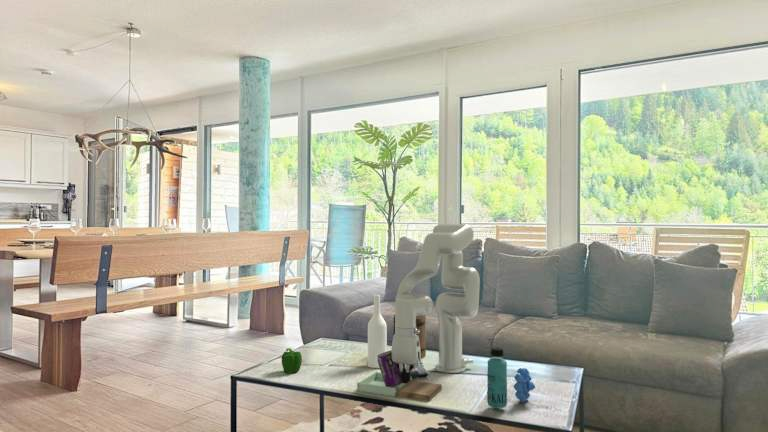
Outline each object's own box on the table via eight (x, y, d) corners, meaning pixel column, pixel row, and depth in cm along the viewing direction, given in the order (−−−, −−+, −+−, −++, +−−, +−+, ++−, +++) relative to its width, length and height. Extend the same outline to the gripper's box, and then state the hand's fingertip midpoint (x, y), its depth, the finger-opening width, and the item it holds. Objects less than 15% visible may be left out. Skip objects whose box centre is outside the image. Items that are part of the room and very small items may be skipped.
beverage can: (403, 384, 186) (392, 352, 188) (384, 390, 187) (374, 358, 189) (405, 379, 193) (395, 348, 195) (387, 385, 194) (377, 354, 196)
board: (441, 389, 189) (441, 384, 189) (429, 401, 178) (429, 395, 178) (411, 385, 195) (411, 380, 195) (397, 396, 183) (397, 390, 183)
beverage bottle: (492, 404, 175) (492, 344, 175) (511, 408, 171) (510, 347, 171) (483, 409, 170) (483, 348, 170) (502, 414, 166) (501, 351, 166)
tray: (411, 384, 196) (411, 376, 196) (395, 397, 182) (395, 388, 182) (375, 379, 202) (375, 371, 202) (357, 391, 189) (357, 382, 189)
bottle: (388, 363, 224) (388, 293, 224) (384, 369, 216) (383, 296, 216) (370, 362, 226) (370, 293, 226) (365, 367, 218) (365, 296, 218)
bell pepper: (296, 367, 219) (296, 343, 219) (304, 372, 212) (304, 348, 212) (277, 371, 214) (277, 346, 214) (285, 376, 207) (285, 351, 207)
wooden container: (431, 354, 239) (431, 306, 239) (415, 361, 227) (415, 311, 227) (403, 349, 247) (403, 303, 247) (386, 356, 235) (386, 308, 235)
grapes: (529, 410, 169) (529, 373, 169) (509, 405, 173) (509, 369, 173) (541, 399, 179) (540, 364, 179) (521, 395, 183) (521, 361, 183)
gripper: (428, 331, 189) (428, 382, 188) (391, 327, 195) (391, 376, 195) (421, 335, 182) (421, 388, 182) (382, 331, 188) (382, 382, 188)
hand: (405, 382), depth 188 cm, fingers closed
